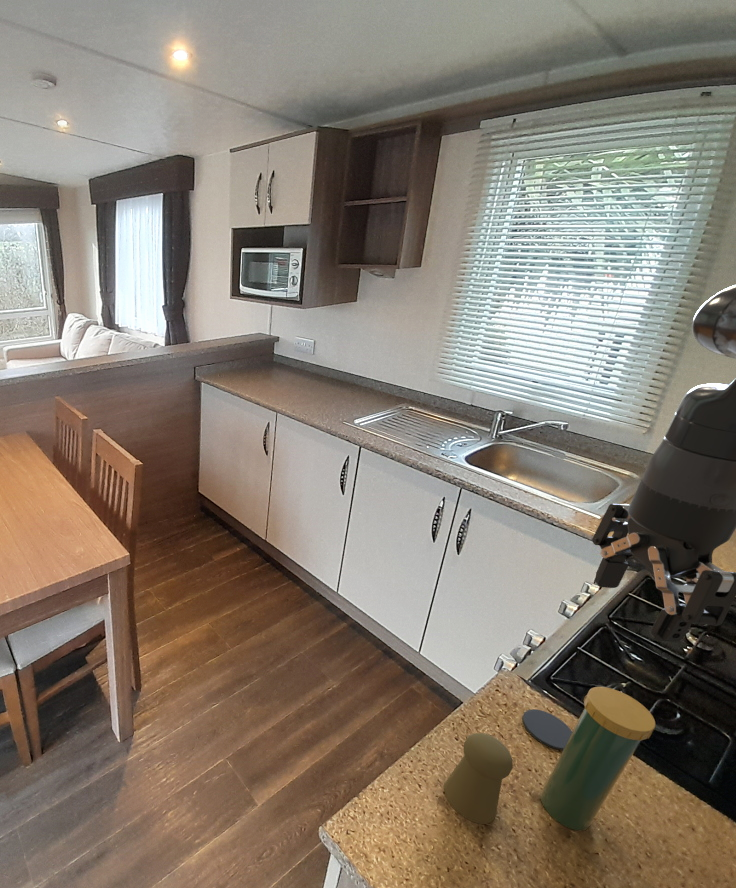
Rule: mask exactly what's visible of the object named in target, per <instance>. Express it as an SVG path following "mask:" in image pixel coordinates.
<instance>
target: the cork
mask: <svg viewBox="0 0 736 888" xmlns="http://www.w3.org/2000/svg"><path fill="white" fill-rule="evenodd" d="M513 766H514V763H513V757H512V755H511V752H510V750H509V749H508V747H507V746H506V745H505V744H504V743H502V741H500V739H498V738H496V737H494V736H493V735H491V734H488V733H484V732H474V733H472V734H470V735H468V736H467V737H466V739H465V740H464V743H463V757H462V758H461V760H460V761H459V762H458V763H457V765H456V766H455V768H454V769H453V771H452V772H451V773H450V775H449V776H448V778H447V779H446V781H445V782H444V785H443V786H444V787H443V791H444V795H445V798H446V800H447V802H448V803H449V805H450V806H451V807H452V808H453V809H454V810H455V812H456V813H458V814H459V815H460V816H461V817H462V818H464V819H466V820H468V821H470V822H472V823H475V824H480V825H487V824H488V825H489V824H491V823H492V822H493V821H494V820H495V818H496V817H497V811H498V805H499V798H500V794H501V788H502V782H503V780H504V779H506V778H507V777H509V776H510V774H511V772H512V770H513V768H514V767H513Z"/></svg>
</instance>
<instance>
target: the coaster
mask: <svg viewBox="0 0 736 888" xmlns="http://www.w3.org/2000/svg"><path fill="white" fill-rule="evenodd" d="M521 720H522V724H523V726H524V728H525V730H526V731H527V732H528V733H529V735H531V736H532V737H533V738H534V739H535V740H536V741H538V742H540V743H541V744H543V745H544V746H546V747H548V748H551V749H553V750H557V751H563V749H564V747H565V745H566V743H567V741H568V739H569V737H570V735H571V733H572V731H573V730H571V728H570V727H569V726H568V725H567V724H566V723H565V722H564V721H563V720H561V719H560V718H559V717H557V716H555V715H553V714H552V713H549V712H547V711H545V710H541V709H528V710H526V711H524V713H523V714H522V718H521Z"/></svg>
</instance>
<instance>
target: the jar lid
mask: <svg viewBox="0 0 736 888" xmlns="http://www.w3.org/2000/svg"><path fill="white" fill-rule="evenodd" d="M583 705H584V708H586V710H587V712H588V713H589V714H590V716H591V717H592V718H593V719H594V720H595V721H596V722H598V723H599V724H600V725H601V726H603V727H604V728H606V729H607V730H609V731H611V732H613V733H614V734H617V735H619V736H622V737H624V738H628V739H632V740H640V741H641V740H642V741H643V740H644V741H645V740H647V739H650V738H651V736H652V734H653V732H654V731H655V728H656V721H655V718H654V716H653V714H652V713H651V712H650V711H649V709H648V708H646V707H645V706H644V705H643V704H642V703H640V702H639V701H638V700H636V699H635V698H633V696H630V695H628V694H626V693H624V692H622V691H619V690H618V689H614V688H611V687H607V686H595V687H591V688H590V689H589V690H588V692H587V694H586V695H585V696H584V698H583ZM642 741H641V742H642Z"/></svg>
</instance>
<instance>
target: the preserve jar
mask: <svg viewBox="0 0 736 888" xmlns="http://www.w3.org/2000/svg"><path fill="white" fill-rule="evenodd" d="M571 731H572V733H571V735H570V737H569V739H568V741H567V743H566V745H565V747H564V749H563V750H561V753H560V755H559V757H558V759H557V761H556V762H555V764H554V767H553V768H552V771H551V773H550V774H549V776H548V778H547V779H546V782H545V784H544V786H543V788H542V790H541V792H540V795H539V797H540V801H541V805H542V806H543V808H544V809H545V810H546V812H547V813H548V814H549V815H550V816H551V817H552V818H553V819H554V820H555V821H556V822H558V823H559V824H561V825H562V826H564V827H567V828H568V829H571V830H574V831H580V832H581V831H586V830H588V829H589V828H590V826H591V825H592V823H593V821H594V820H595V818H596V816H597V815H598V813H599V812H600V810H601V809H602V806H604V805H603V804H604V803H605V802H606V800H607V798H608V797H609V795H610V793H612V792H611V791H612V790H613V788H614V787H615V785H616V783H618V780H620V777H621V775H622V773H623V772H624V770H625V769H626V767H627V766H628V764H629V762H630V761H631V759H632V757H633V756H634V755H635V752H636V750H638V747H639V745H640V744H641V743H642V741H643V740H641V741H640V740H632V739H628V738H624V737H622V736H619V735H617V734H614V733H613V732H611V731H609V730H607V729H606V728H604V727H603V726H601V725H600V724H599V723H598V722H596V721H595V720H594V719H593V718H592V717H591V716H590V714H589V713H588V712H587V710H586V708H585V707H584V708H583V710H582V712H581V714H580V716H579V718H578V720H577V722H576V724H575V726H574V727H573V730H571Z"/></svg>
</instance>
